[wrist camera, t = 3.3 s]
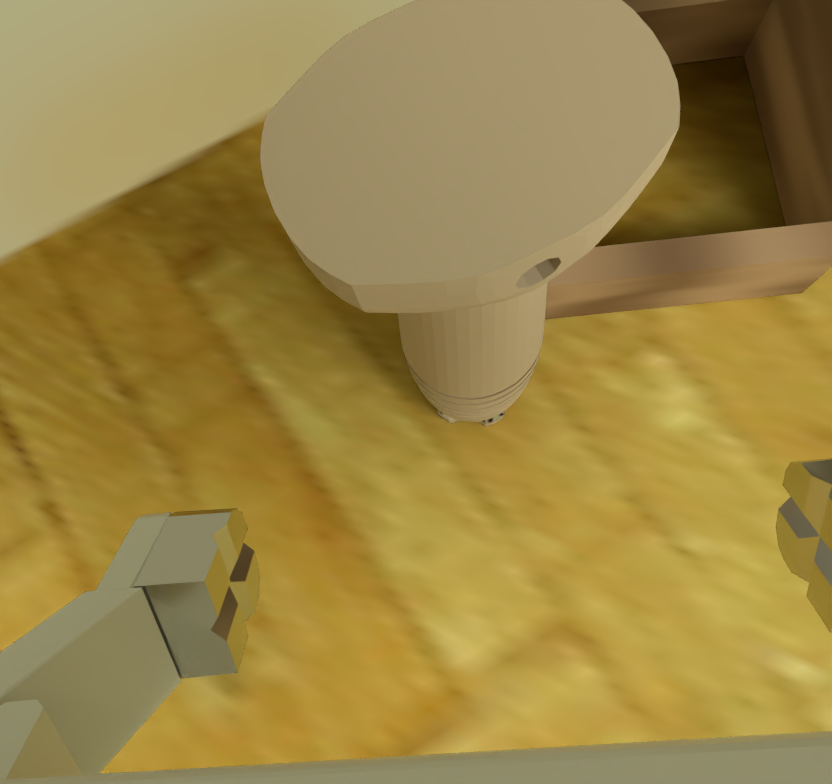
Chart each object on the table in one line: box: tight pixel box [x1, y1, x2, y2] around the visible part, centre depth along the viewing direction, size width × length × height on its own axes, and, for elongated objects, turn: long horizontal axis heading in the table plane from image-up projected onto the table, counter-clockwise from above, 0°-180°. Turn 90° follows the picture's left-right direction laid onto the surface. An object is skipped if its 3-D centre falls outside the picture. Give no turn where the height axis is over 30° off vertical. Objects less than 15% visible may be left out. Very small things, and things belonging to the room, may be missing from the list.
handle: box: [260, 0, 680, 426], centre depth 18 cm, size 5×6×15 cm
